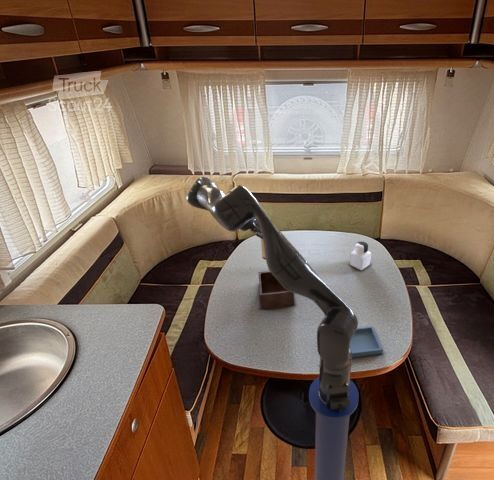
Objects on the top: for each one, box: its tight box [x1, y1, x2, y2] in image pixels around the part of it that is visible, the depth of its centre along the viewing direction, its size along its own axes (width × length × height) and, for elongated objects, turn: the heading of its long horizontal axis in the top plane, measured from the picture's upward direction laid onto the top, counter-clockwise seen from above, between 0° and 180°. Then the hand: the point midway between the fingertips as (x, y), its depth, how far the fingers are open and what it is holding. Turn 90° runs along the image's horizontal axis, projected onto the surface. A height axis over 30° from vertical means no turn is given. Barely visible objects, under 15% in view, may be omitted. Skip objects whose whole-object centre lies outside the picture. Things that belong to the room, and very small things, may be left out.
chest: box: [258, 270, 295, 310], centre depth 153 cm, size 14×16×7 cm
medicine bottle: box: [349, 240, 372, 271], centre depth 170 cm, size 7×7×12 cm
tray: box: [349, 325, 384, 358], centre depth 130 cm, size 12×16×2 cm
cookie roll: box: [260, 238, 266, 261], centre depth 140 cm, size 5×5×12 cm
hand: (271, 237), depth 140 cm, fingers closed on cookie roll, 5 cm apart
